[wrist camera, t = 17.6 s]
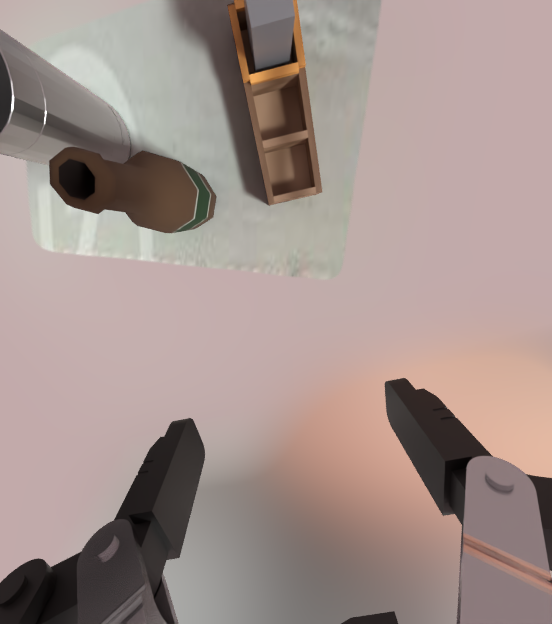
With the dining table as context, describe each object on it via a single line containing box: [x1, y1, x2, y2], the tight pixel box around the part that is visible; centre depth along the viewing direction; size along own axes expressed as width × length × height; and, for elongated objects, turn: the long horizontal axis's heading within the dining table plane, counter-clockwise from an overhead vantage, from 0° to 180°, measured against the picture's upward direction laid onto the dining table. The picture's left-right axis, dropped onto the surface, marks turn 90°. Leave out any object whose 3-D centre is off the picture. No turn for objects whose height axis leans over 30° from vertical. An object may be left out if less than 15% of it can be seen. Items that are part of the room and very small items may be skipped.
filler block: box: [244, 0, 295, 73], centre depth 27 cm, size 4×4×10 cm
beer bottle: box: [49, 147, 216, 233], centre depth 26 cm, size 8×8×24 cm
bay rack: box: [227, 0, 322, 205], centre depth 32 cm, size 7×21×4 cm, turn 12°
